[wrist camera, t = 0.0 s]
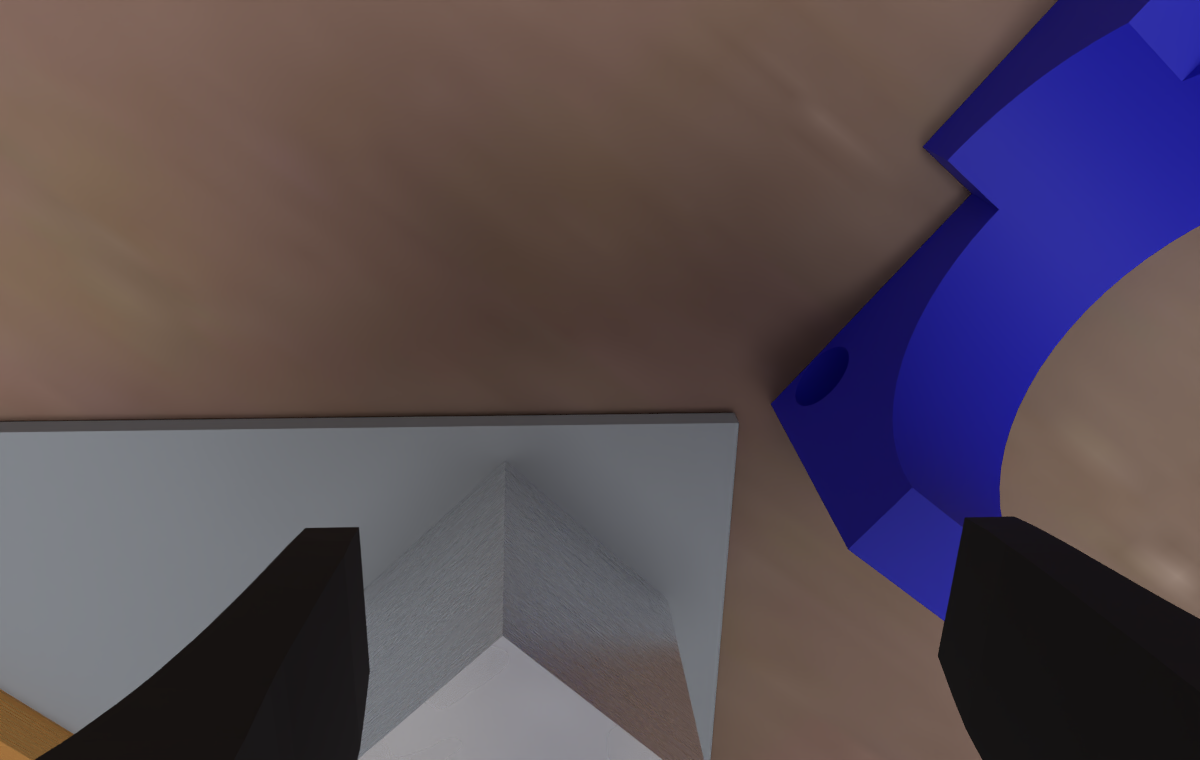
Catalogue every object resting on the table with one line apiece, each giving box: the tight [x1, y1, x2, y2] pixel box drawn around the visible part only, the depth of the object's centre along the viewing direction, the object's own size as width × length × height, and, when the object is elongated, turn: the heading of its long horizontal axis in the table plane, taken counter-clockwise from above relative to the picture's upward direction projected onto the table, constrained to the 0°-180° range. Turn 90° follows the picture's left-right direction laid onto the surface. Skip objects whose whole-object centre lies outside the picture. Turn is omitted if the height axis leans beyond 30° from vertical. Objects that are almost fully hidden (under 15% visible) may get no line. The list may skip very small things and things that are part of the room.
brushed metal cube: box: [358, 461, 704, 760], centre depth 21 cm, size 5×5×6 cm
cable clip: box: [771, 0, 1200, 621], centre depth 19 cm, size 12×4×6 cm, turn 140°
